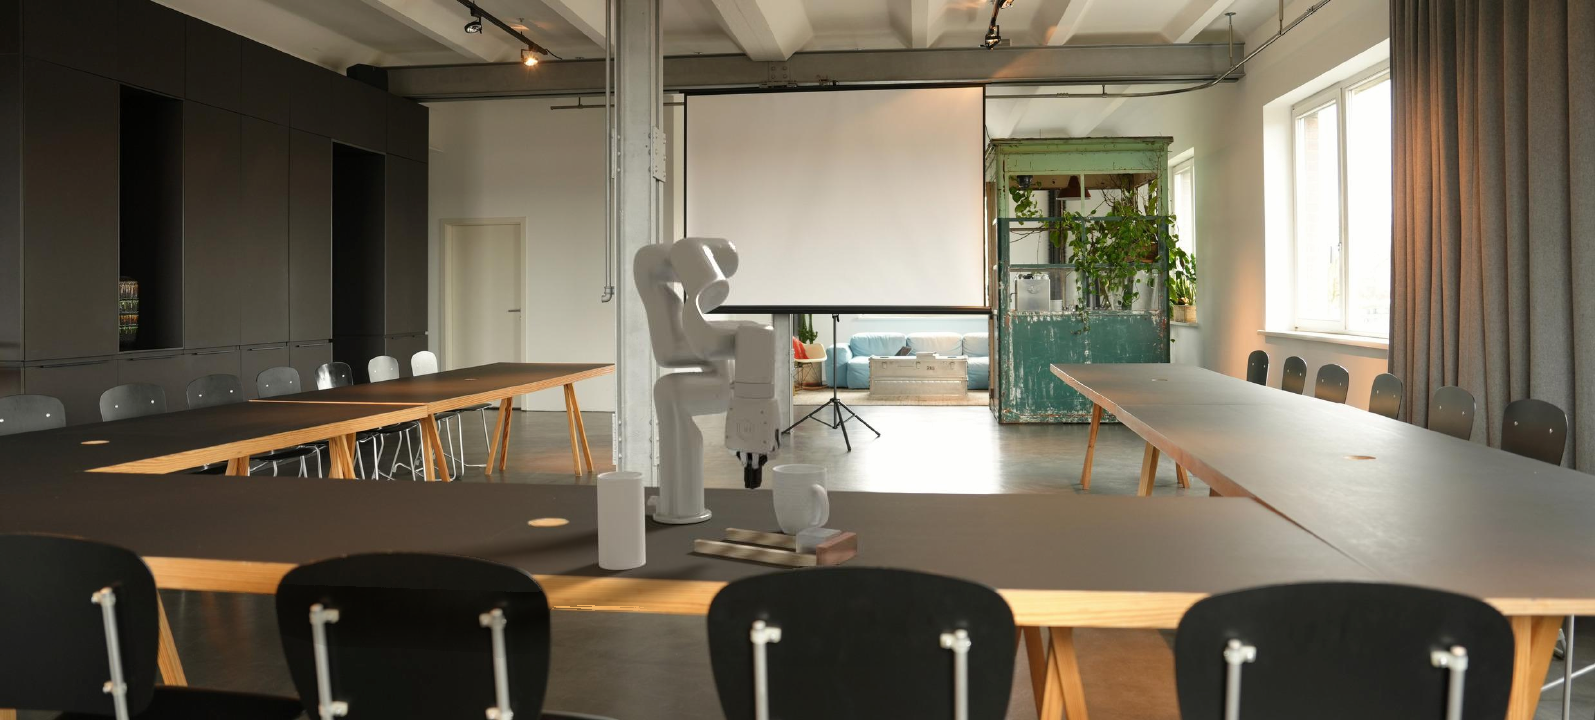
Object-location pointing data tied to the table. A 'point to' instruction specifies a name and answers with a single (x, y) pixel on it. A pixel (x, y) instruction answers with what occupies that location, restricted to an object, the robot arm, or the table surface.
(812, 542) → the block
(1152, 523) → the table surface
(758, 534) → the u-shaped frame
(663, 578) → the table surface
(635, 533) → the cup
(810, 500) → the mug
